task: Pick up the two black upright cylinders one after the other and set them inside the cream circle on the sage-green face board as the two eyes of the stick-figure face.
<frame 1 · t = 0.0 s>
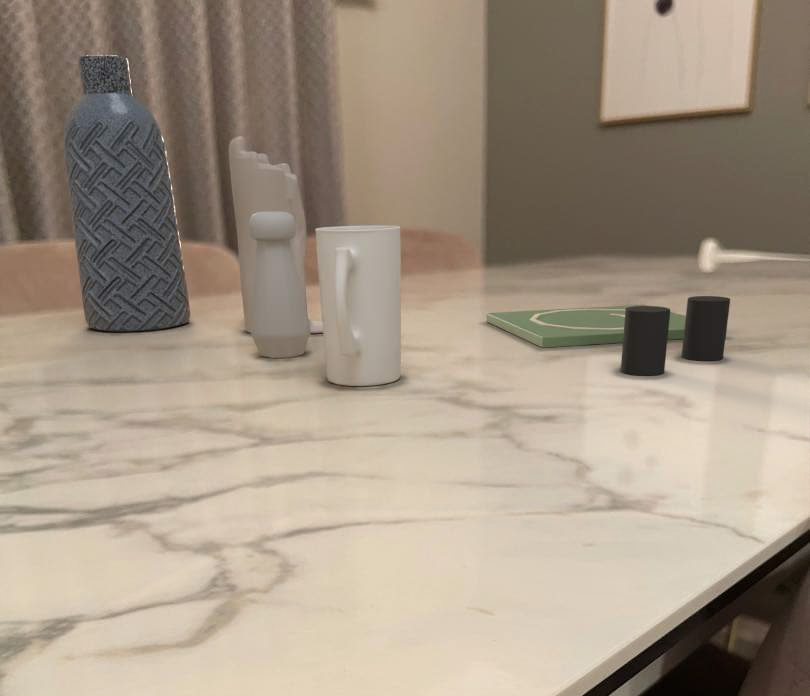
black upright cylinder 1: (642, 371, 72), on the table
face board: (598, 328, 93), on the table
mug: (359, 385, 70), on the table
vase: (140, 326, 102), on the table
salt shaker: (282, 356, 83), on the table
candle: (306, 330, 97), on the table
black upright cylinder 2: (702, 357, 77), on the table
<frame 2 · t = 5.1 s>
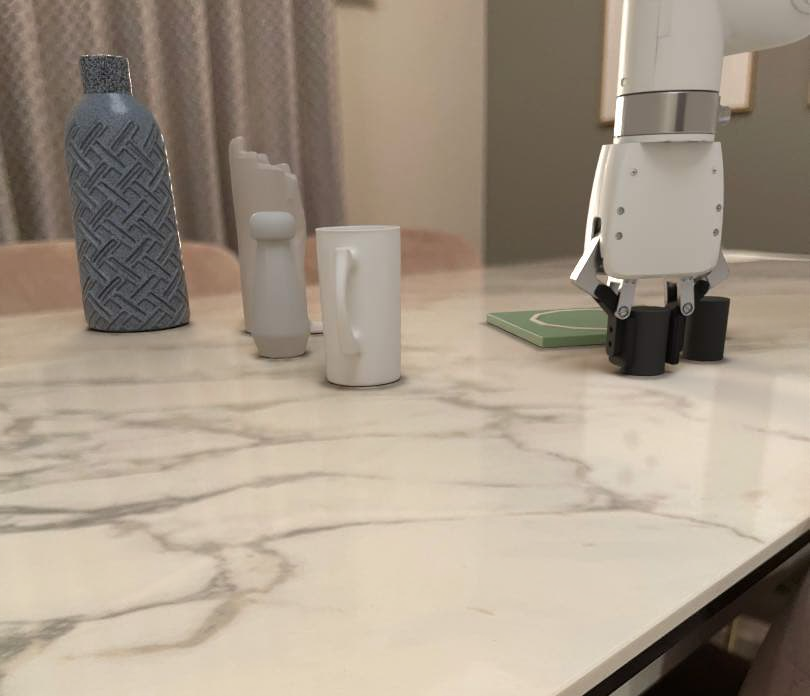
hand: (643, 361, 72), 1 cm above the table, tool pointing down, fingers closed on black upright cylinder 1, 3 cm apart
black upright cylinder 1: (642, 371, 72), on the table, touching gripper
everything else where it was.
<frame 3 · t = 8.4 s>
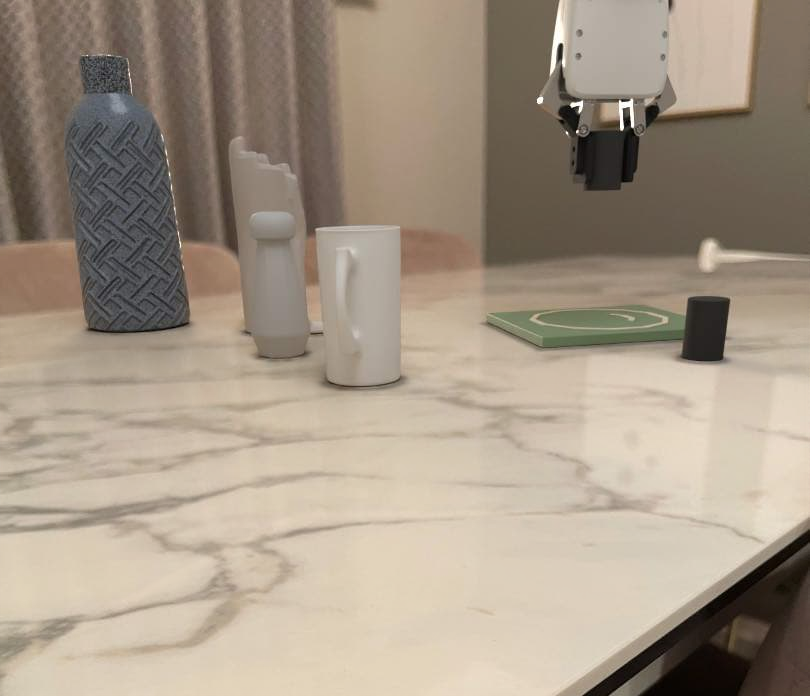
hand: (602, 180, 82), 15 cm above the table, tool pointing down, fingers closed on black upright cylinder 1, 3 cm apart
black upright cylinder 1: (601, 190, 82), point 14 cm above the table, touching gripper
everything else where it was.
when the fingers open (2 cm above the table, at t = 11.9 s): black upright cylinder 1 stays where it is, resting on face board.
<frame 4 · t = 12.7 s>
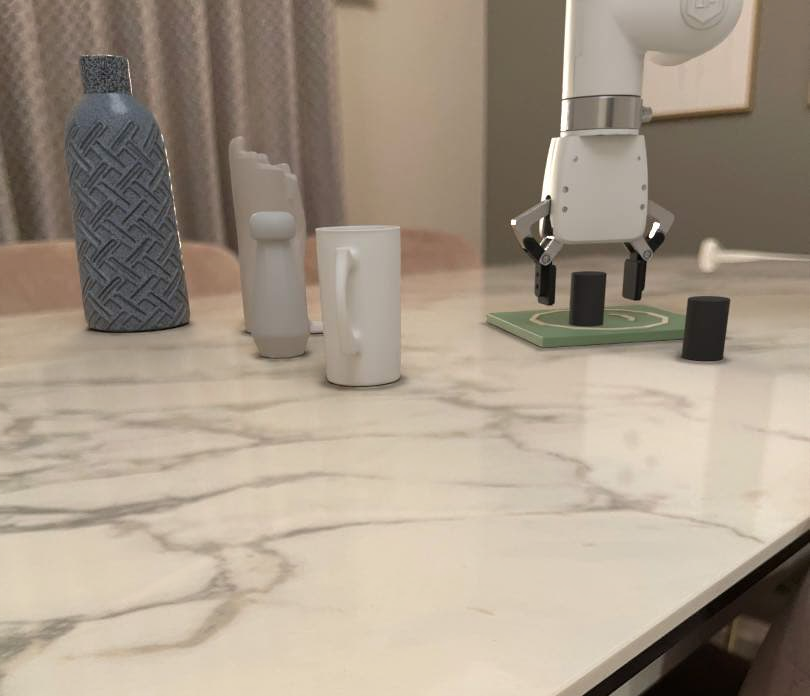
hand: (589, 301, 89), 3 cm above the table, tool pointing down, fingers open, 9 cm apart
black upright cylinder 1: (585, 323, 90), point 1 cm above the table, touching face board
everything else where it was.
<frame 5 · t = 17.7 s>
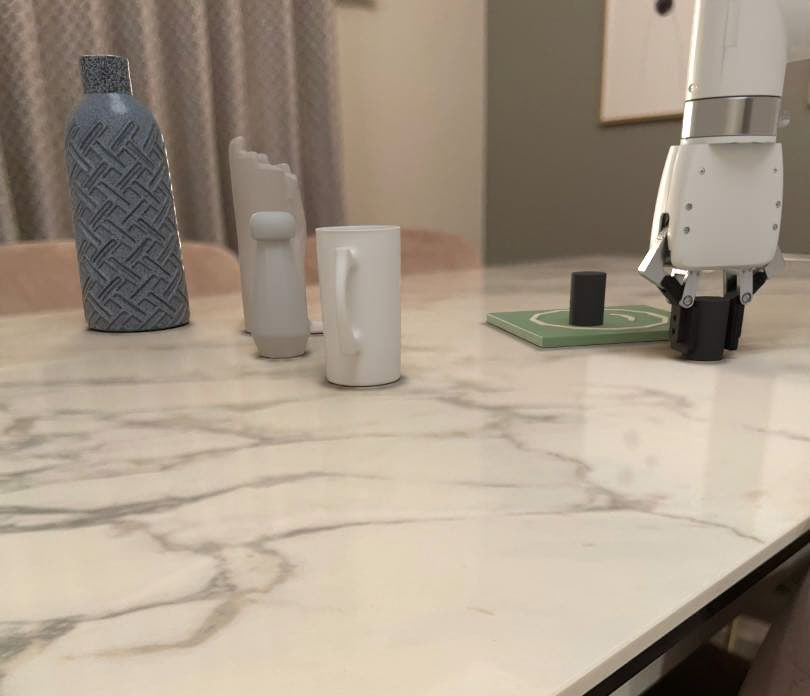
hand: (703, 347, 77), 1 cm above the table, tool pointing down, fingers closed on black upright cylinder 2, 3 cm apart
black upright cylinder 2: (702, 357, 77), on the table, touching gripper
everything else where it was.
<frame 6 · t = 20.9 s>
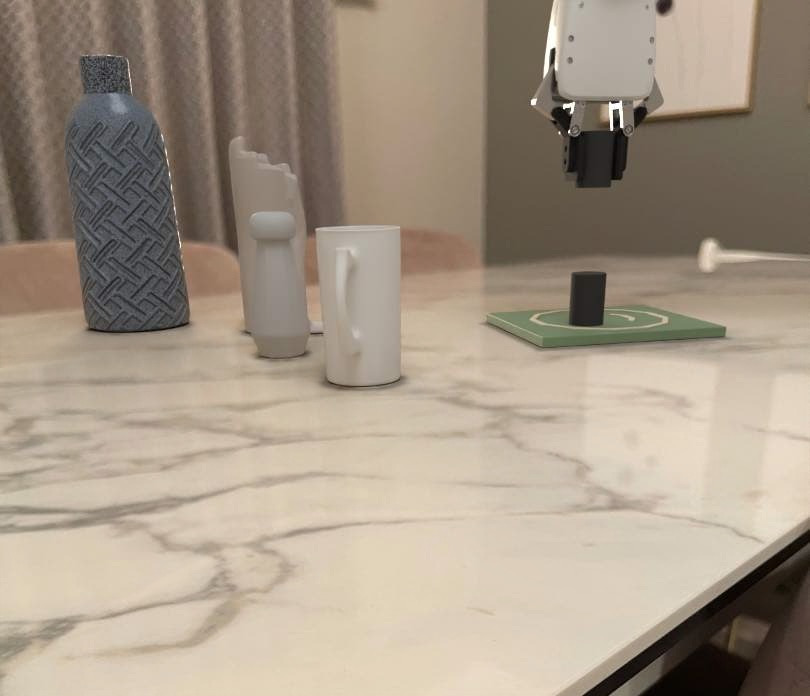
hand: (593, 178, 86), 15 cm above the table, tool pointing down, fingers closed on black upright cylinder 2, 3 cm apart
black upright cylinder 2: (592, 187, 87), point 14 cm above the table, touching gripper
everything else where it was.
when the fingers open (2 cm above the table, at t = 24.5 s): black upright cylinder 2 stays where it is, resting on face board.
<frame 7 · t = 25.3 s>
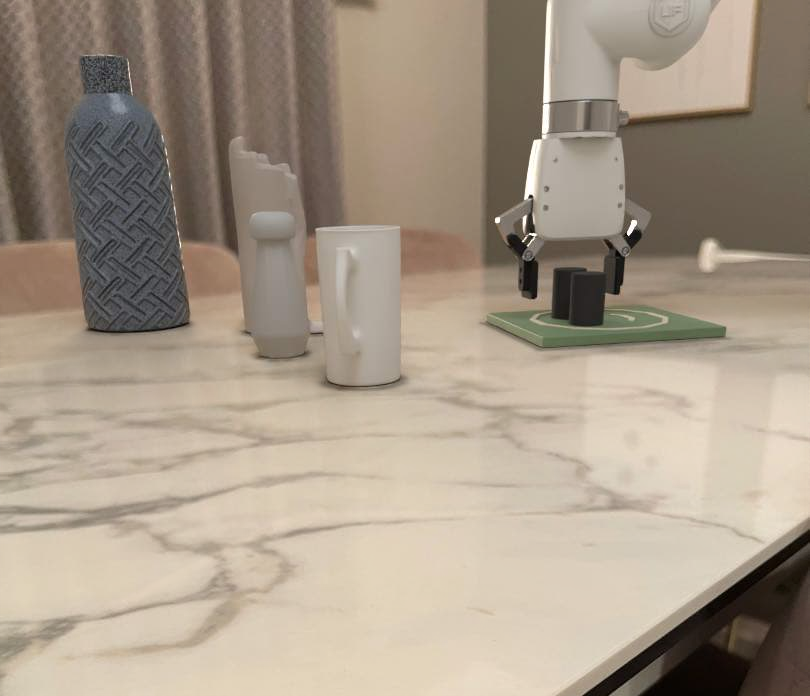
hand: (570, 295, 93), 3 cm above the table, tool pointing down, fingers open, 9 cm apart
black upright cylinder 2: (567, 317, 94), point 1 cm above the table, touching face board
everything else where it was.
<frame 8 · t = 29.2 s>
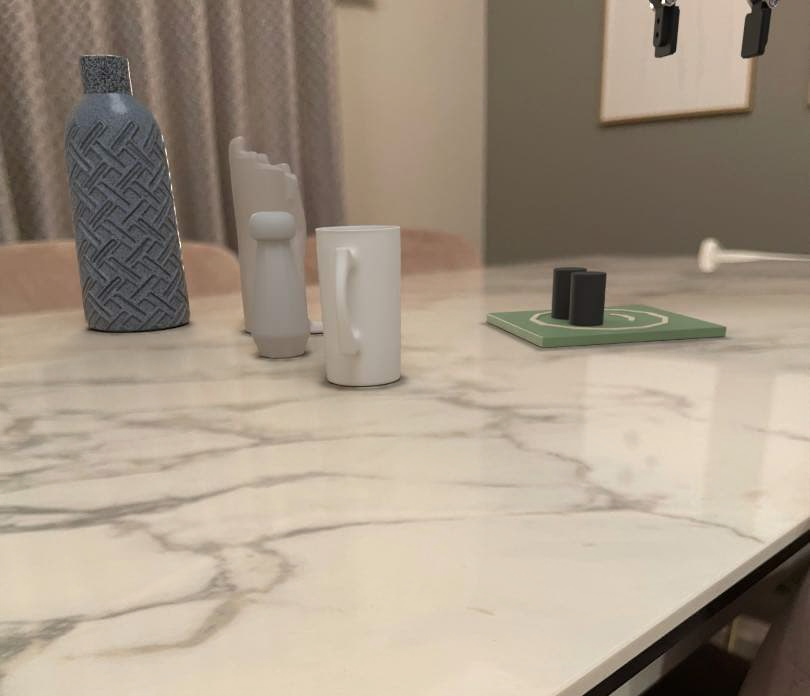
hand: (708, 56, 85), 26 cm above the table, tool pointing down, fingers open, 9 cm apart
nothing on the table moved.
at the end: black upright cylinder 1 0.1 cm from the target spot on the face board, point 1.0 cm above the face board's base; black upright cylinder 2 0.1 cm from the target spot on the face board, point 1.0 cm above the face board's base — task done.
